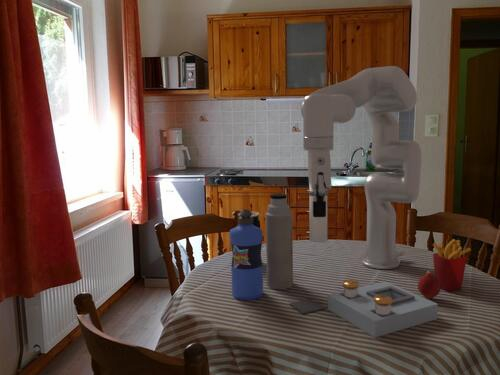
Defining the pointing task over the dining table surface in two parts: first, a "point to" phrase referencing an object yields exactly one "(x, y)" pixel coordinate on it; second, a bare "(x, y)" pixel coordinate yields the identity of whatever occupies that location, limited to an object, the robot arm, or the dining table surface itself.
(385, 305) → the plunger
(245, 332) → the dining table surface
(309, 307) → the pad
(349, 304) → the housing
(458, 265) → the french fries
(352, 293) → the plunger
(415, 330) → the dining table surface
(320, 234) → the cartridge
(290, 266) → the thermos bottle
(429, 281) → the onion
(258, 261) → the water bottle
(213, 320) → the dining table surface
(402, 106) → the robot arm
